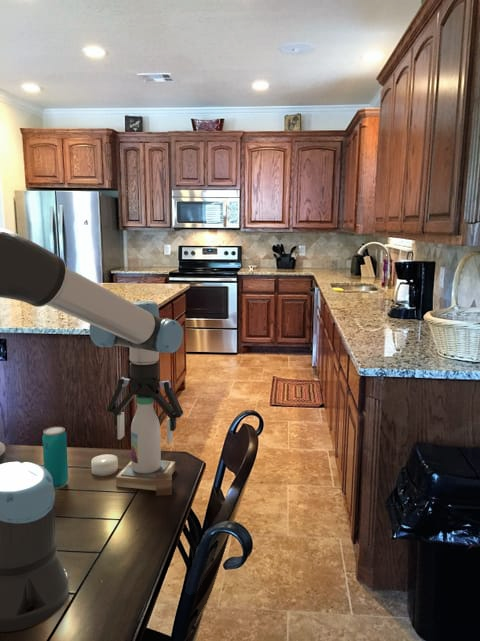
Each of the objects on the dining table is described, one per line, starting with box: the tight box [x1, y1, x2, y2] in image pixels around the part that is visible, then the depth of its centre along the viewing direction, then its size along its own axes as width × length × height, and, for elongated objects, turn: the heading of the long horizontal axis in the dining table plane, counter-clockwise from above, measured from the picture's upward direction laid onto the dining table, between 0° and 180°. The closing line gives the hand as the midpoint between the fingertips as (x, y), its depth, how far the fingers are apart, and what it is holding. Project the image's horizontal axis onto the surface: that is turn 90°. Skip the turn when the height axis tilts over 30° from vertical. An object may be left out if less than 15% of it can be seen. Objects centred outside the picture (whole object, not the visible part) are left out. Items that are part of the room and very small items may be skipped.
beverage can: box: [41, 426, 69, 491], centre depth 127 cm, size 6×6×15 cm
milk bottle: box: [130, 395, 162, 474], centre depth 131 cm, size 8×8×20 cm
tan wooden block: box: [155, 472, 173, 497], centre depth 126 cm, size 4×4×4 cm
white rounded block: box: [90, 453, 119, 477], centre depth 137 cm, size 7×7×3 cm
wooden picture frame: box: [115, 460, 176, 491], centre depth 133 cm, size 12×12×3 cm
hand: (145, 439), depth 131 cm, fingers open, 13 cm apart
